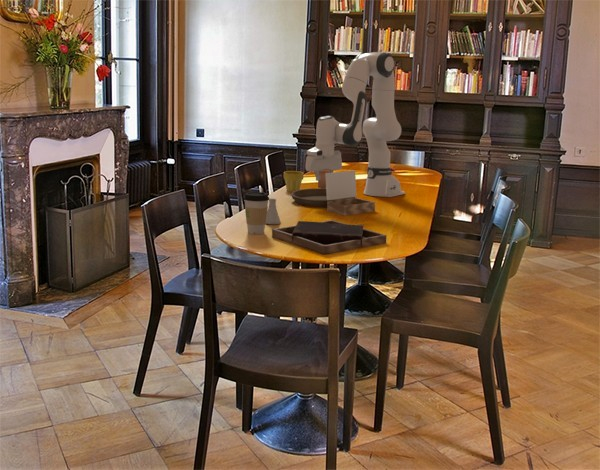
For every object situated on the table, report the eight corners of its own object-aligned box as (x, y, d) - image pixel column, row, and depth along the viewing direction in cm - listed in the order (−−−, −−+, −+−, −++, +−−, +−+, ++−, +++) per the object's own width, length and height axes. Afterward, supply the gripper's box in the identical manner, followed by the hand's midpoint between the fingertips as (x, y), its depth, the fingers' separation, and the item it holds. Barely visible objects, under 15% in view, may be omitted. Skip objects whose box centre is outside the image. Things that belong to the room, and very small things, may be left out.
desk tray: (332, 227, 268) (332, 220, 267) (386, 243, 245) (386, 235, 245) (272, 236, 250) (272, 229, 249) (324, 254, 227) (324, 246, 226)
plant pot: (300, 193, 343) (301, 174, 340) (281, 191, 345) (281, 173, 342) (304, 189, 352) (305, 171, 350) (285, 188, 354) (286, 170, 352)
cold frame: (352, 206, 312) (353, 182, 309) (374, 212, 301) (376, 186, 298) (323, 210, 301) (324, 185, 298) (345, 216, 290) (346, 190, 287)
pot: (323, 186, 322) (324, 167, 320) (331, 187, 318) (332, 169, 316) (314, 186, 319) (315, 168, 317) (322, 188, 314) (323, 169, 312)
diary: (361, 249, 237) (362, 235, 236) (291, 245, 240) (292, 232, 239) (363, 236, 255) (363, 223, 254) (298, 232, 258) (298, 220, 257)
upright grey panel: (356, 196, 308) (355, 196, 309) (355, 170, 307) (354, 170, 307) (327, 200, 297) (326, 200, 298) (326, 173, 296) (325, 173, 296)
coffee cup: (253, 228, 262) (254, 190, 259) (273, 232, 257) (274, 193, 254) (237, 232, 255) (238, 193, 251) (258, 236, 249) (258, 197, 246)
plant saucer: (309, 211, 300) (309, 201, 299) (279, 199, 326) (279, 189, 325) (367, 206, 314) (368, 197, 313) (334, 195, 341) (334, 186, 339)
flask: (262, 221, 276) (263, 197, 273) (280, 221, 276) (280, 197, 274) (263, 225, 269) (264, 200, 266) (281, 225, 269) (282, 200, 267)
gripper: (336, 149, 323) (335, 177, 326) (303, 151, 310) (302, 180, 314) (345, 150, 318) (344, 179, 322) (312, 152, 306) (311, 182, 309)
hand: (323, 180), depth 318 cm, fingers closed on pot, 5 cm apart
